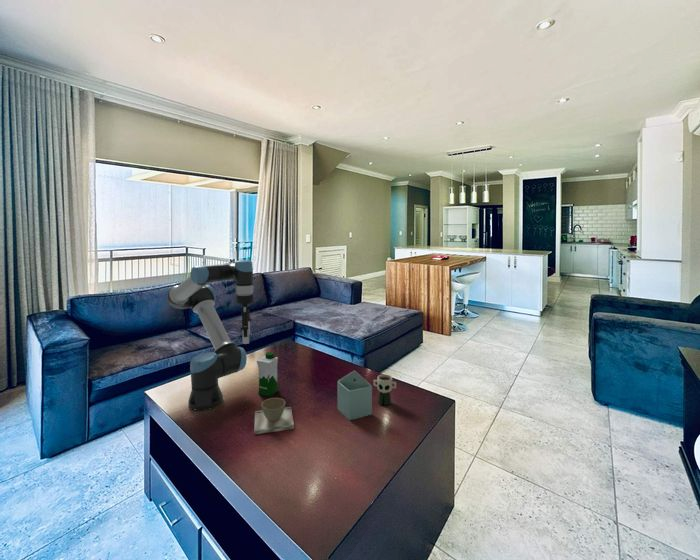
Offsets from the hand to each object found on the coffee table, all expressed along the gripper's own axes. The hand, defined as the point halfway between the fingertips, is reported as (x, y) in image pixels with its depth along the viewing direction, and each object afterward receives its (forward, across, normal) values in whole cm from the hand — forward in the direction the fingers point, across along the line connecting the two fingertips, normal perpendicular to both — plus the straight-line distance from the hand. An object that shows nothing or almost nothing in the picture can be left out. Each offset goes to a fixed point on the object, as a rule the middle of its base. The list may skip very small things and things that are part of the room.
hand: (246, 338), depth 155 cm
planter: (+32, -23, -45) cm, 60 cm away
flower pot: (+31, -19, -11) cm, 38 cm away
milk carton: (+32, +8, -9) cm, 34 cm away
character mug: (+32, -16, -63) cm, 72 cm away
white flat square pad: (+32, -19, -11) cm, 39 cm away
